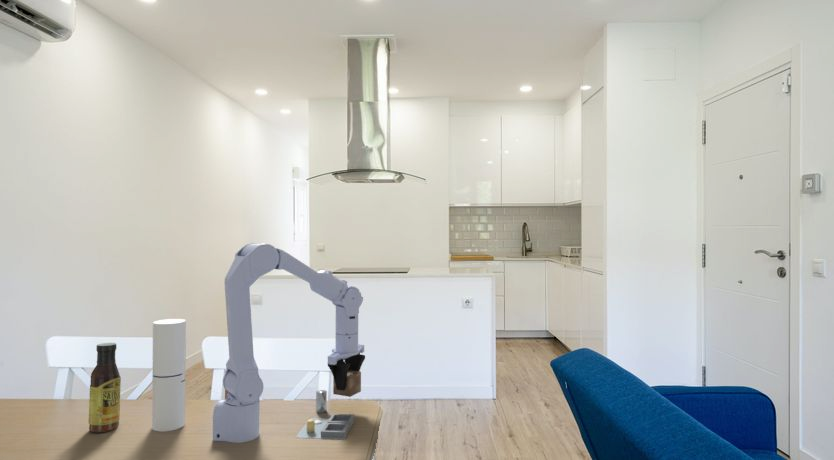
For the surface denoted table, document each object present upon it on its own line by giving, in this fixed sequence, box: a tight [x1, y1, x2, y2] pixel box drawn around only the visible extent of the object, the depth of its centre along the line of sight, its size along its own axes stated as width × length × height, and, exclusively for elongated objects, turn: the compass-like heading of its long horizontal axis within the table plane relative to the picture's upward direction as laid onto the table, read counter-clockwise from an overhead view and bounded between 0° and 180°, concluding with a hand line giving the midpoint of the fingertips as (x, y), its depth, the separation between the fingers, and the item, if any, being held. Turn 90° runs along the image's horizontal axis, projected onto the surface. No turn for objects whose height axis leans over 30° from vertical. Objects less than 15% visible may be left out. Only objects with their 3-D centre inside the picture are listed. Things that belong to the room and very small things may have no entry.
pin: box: [315, 389, 328, 414], centre depth 132 cm, size 3×3×6 cm
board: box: [295, 413, 355, 440], centre depth 121 cm, size 11×12×4 cm
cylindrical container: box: [151, 318, 187, 432], centre depth 125 cm, size 7×7×25 cm
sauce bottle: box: [88, 342, 122, 434], centre depth 123 cm, size 6×6×20 cm
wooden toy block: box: [332, 370, 362, 398], centre depth 132 cm, size 5×5×5 cm
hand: (346, 386), depth 132 cm, fingers closed on wooden toy block, 5 cm apart
